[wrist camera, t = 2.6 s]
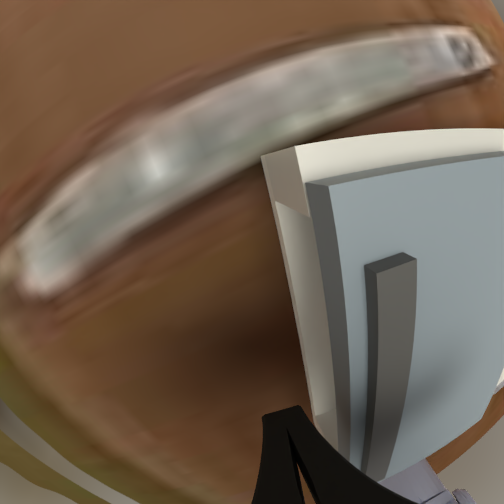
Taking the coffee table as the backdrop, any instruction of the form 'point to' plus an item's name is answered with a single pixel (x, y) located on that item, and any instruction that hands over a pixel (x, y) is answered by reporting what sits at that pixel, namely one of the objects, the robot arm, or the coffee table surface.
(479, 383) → the slide cover
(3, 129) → the coffee table surface
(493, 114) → the coffee table surface
